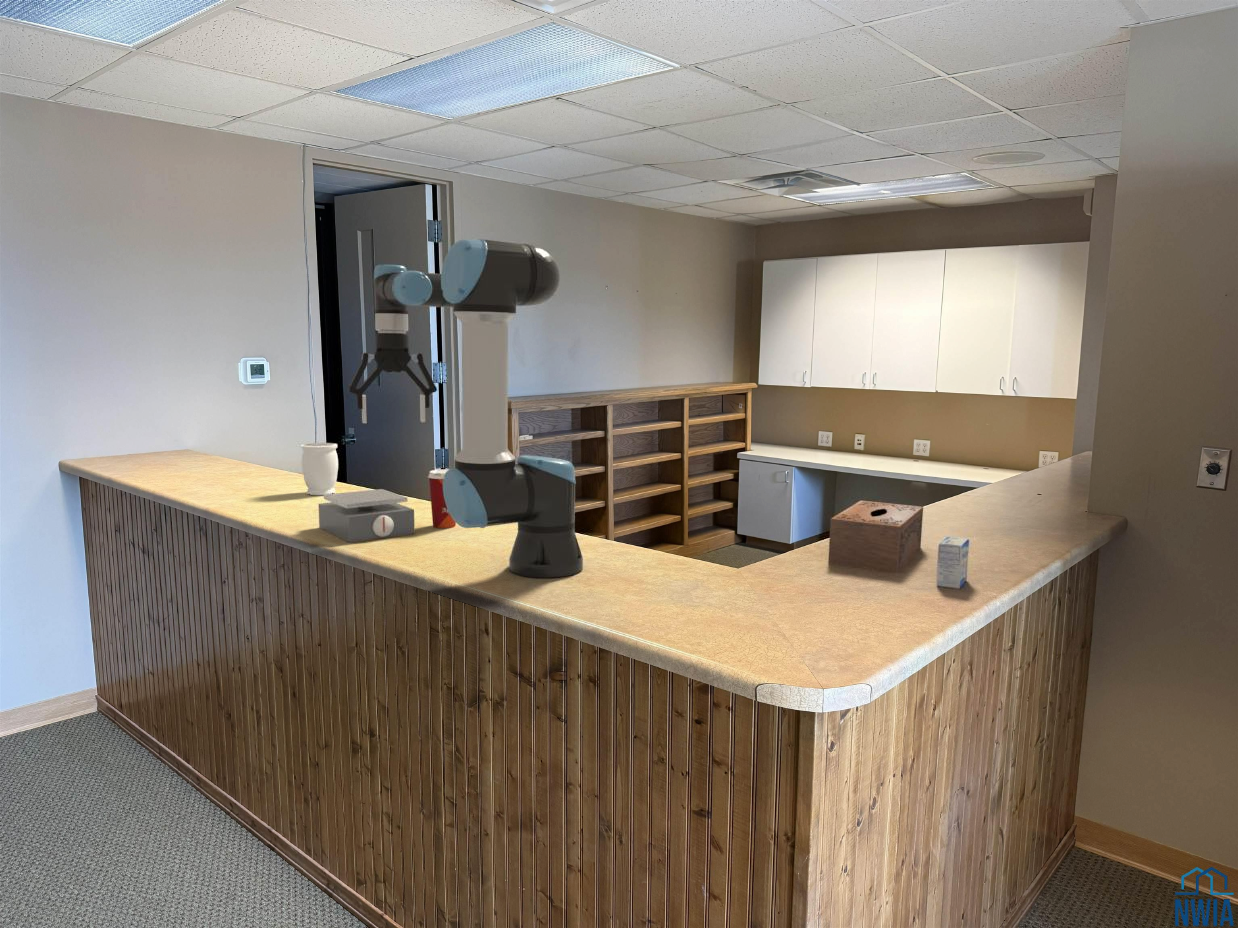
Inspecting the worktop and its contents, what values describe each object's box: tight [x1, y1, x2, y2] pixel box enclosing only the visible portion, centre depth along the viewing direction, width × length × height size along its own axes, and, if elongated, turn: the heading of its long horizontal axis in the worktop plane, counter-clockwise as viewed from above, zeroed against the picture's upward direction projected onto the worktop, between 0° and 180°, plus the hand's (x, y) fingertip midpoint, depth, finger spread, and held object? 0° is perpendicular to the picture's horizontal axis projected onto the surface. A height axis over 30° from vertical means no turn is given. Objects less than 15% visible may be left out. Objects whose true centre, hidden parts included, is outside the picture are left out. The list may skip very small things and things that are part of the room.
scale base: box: [318, 501, 416, 544], centre depth 205 cm, size 21×16×6 cm
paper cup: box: [427, 469, 457, 529], centre depth 211 cm, size 8×8×14 cm
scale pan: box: [323, 488, 409, 508], centre depth 204 cm, size 15×15×2 cm
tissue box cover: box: [827, 500, 924, 573], centre depth 188 cm, size 26×14×10 cm, turn 150°
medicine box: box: [935, 536, 970, 590], centre depth 166 cm, size 8×4×9 cm, turn 148°
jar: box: [300, 442, 339, 496], centre depth 254 cm, size 11×10×15 cm
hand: (394, 422), depth 201 cm, fingers open, 13 cm apart
